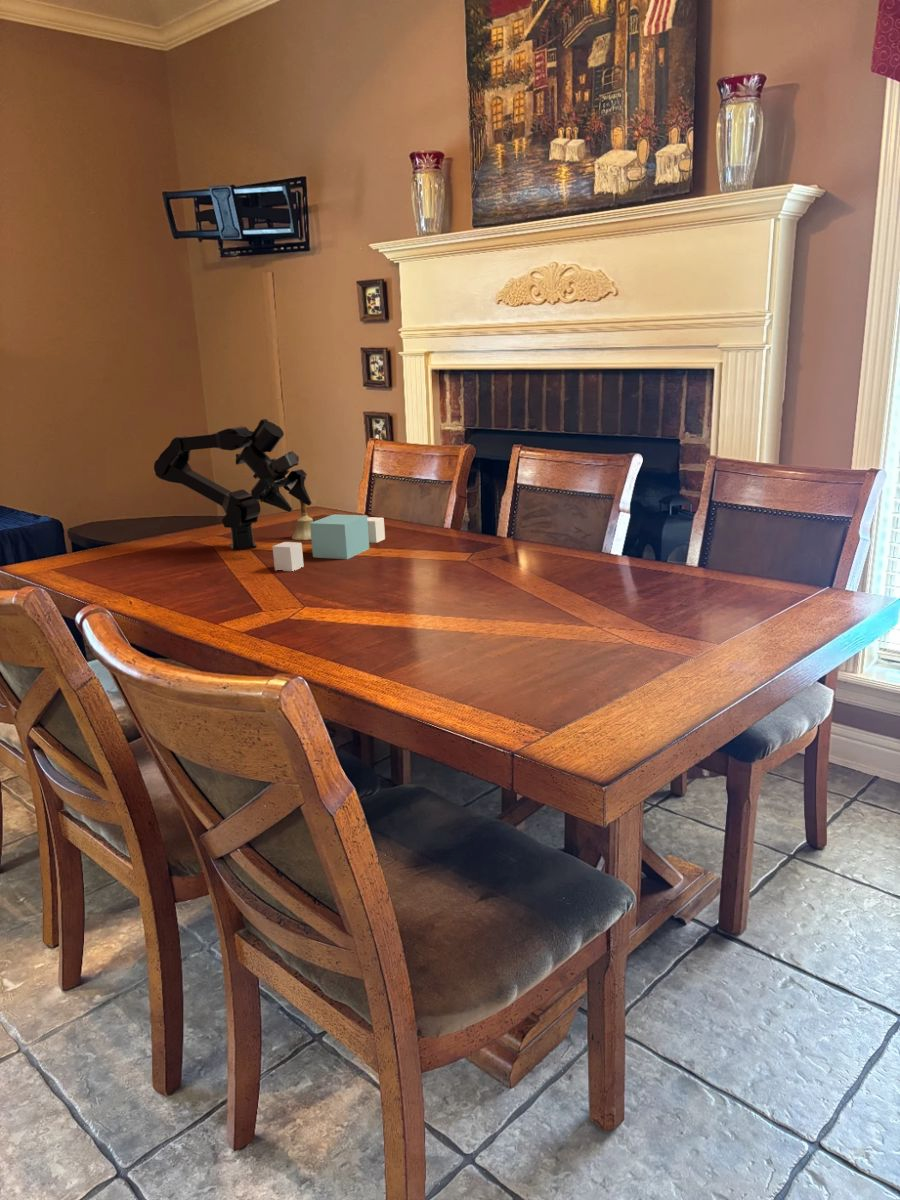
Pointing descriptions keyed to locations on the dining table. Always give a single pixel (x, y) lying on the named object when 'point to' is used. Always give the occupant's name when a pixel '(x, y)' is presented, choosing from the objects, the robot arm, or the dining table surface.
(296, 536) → the hand bell
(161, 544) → the dining table surface
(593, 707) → the dining table surface
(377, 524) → the cream block
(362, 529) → the teal block
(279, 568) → the white block
